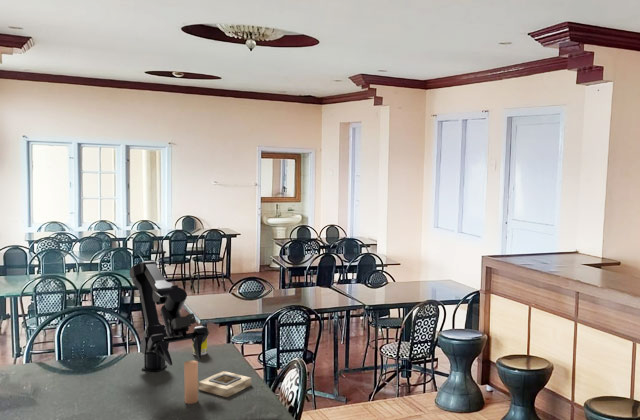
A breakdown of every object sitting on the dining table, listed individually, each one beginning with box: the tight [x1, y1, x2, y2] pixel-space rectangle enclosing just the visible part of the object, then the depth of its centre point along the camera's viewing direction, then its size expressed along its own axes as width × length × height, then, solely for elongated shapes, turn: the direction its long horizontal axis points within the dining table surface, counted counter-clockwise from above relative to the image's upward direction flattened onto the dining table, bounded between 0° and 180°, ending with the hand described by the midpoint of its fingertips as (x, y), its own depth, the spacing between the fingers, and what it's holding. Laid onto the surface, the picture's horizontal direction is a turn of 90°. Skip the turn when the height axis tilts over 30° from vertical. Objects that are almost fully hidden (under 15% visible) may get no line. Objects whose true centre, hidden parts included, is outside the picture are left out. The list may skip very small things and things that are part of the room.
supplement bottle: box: [191, 325, 208, 356], centre depth 221 cm, size 6×6×10 cm
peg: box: [183, 360, 199, 405], centre depth 175 cm, size 4×4×12 cm
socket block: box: [198, 370, 252, 398], centre depth 187 cm, size 12×12×3 cm
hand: (185, 362), depth 179 cm, fingers open, 9 cm apart
